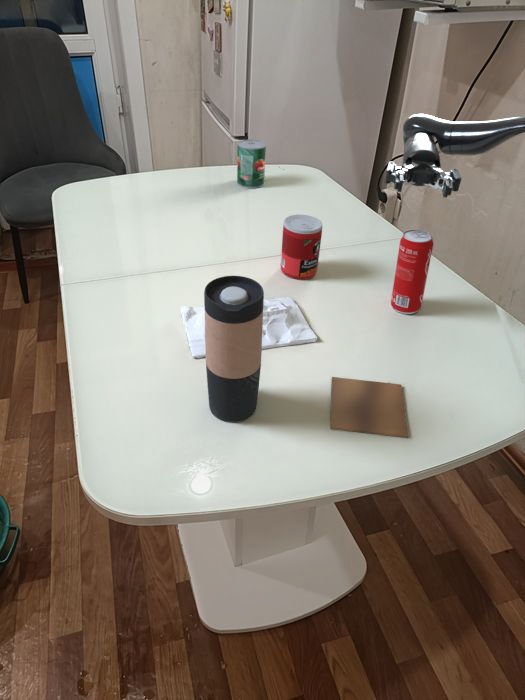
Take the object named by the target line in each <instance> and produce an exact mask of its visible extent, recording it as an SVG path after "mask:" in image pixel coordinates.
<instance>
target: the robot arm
mask: <svg viewBox="0 0 525 700" xmlns="http://www.w3.org/2000/svg"><path fill="white" fill-rule="evenodd" d="M523 134H525V115H519V116H518V115H517V116H513V117H512V116H511V117H507V118H506V117H505V118H500V119H494V120H493V119H492V120H482V121H451V120H446V119H442V118H438V117H435V116H433V115H429V114H426V113H425V114H424V113H418V114H412V115H411V116H409V117H408V118H407V119H406V120H404V122H403V125H402V140H403V154H402V162H401V163H402V165H401V166H399V165H397V164H395V163H396V162H395V161H388V163H387V168H386V171H385V172H386V173H385V178H384V183H385V184H387V185H388V184H389V185H390V184H391V183H393V189H394V190H396V193H402V189H403V186H409V185H411V186H414V187H425V186H429V187H430V188H432V189H434V190H441V193H442V198H446V199H447V198H448V197H450V196H451V195H452V192H459V189H460V186H461V183H462V178H463V177H462V176H461V174H460V171H459V169H457V168H456V167H455V168H451V170H450V171H445V170H444V169H443V168H442V164H441V156H440V153H441V154H443V155H445V156H457V157H458V156H459V157H461V156H462V157H474V156H480V155H484V154H487V153H488V152H491V151H493V150H494V149H496V148H498V147H499V146H501V145H503V144H504V143H506V142H508V141H509V140H510V141H511V140H512V139H514V138H516V137H518V136H520V135H523ZM435 140H436V141H437V144H436V141H435ZM437 145H438V147H437ZM438 148H439V150H438ZM439 151H440V153H439Z"/></svg>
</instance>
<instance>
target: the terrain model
mask: <svg viewBox="0 0 525 700" xmlns="http://www.w3.org/2000/svg"><path fill="white" fill-rule="evenodd" d="M179 309H180V315H181V317H182V323H183V326H184V329H185V334H186V338H187V341H188V345H189V346H188V347H189V349H190V353H191V355H192V358H193V359H202V358H206V350H205V306H199V307H193V306H191V305H183V306H182V305H181V306H180V308H179ZM317 339H318V335H316V333H315V332H314V331H313V330H312V329H311V327H310V326H309V324H308V321H307V320H306V318H305V316H304V315H303V312H302V311H301V309H300V307H299V304H297V303H296V302H295V301H294V299H293V298H292V297H291V296H289V297H288V296H287V297H286V296H285V297H277V298H271V299H270V298H269V299H264V303H263V328H262V350H267V349H273V348H280V347H288V346H289V347H290V346H294V345H302V344H310V343H315V342H317Z"/></svg>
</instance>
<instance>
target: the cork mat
mask: <svg viewBox="0 0 525 700" xmlns="http://www.w3.org/2000/svg"><path fill="white" fill-rule="evenodd" d="M330 383H331V384H330V385H331V388H330V389H331V390H330V397H331V398H330V430H334V431H335V430H336V431H343V432H354V433H360V434H361V433H362V434H371V435H379V436H386V437H387V436H388V437H396V438H404V439H409V437H410V435H409V427H408V421H407V420H408V419H407V414H406V408H405V407H406V406H405V399H404V392H403V385H402V383H392V382H384V381H383V382H382V381H375V380H374V381H373V380H365V379H357V378H356V379H355V378H346V377H339V376H338V377H337V376H331V382H330Z"/></svg>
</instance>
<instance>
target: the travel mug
mask: <svg viewBox="0 0 525 700" xmlns="http://www.w3.org/2000/svg"><path fill="white" fill-rule="evenodd" d="M264 297H265V291H264V288H263V286H262V285H261V284H260V283H259V282H258V281H256V280H255V279H253V278H251V277H247V276H243V275H225V276H224V275H223V276H219V277H217V278H214V279H212V280H211V281H209V282H208V283H207V284H206V285H205V287H204V293H203V303H204V306H203V307H205V350H206V357H205V369H206V370H205V371H206V382H207V397H208V405H209V406H208V407H209V410H210V412H211V414H212V415H213V416H214V418H217V419H218V420H220V421H223V422H226V423H240V422H244V421H246V420H248V419H249V418H251V417H252V416H253V415H254V414H255V412H256V410H257V408H258V401H259V389H260V380H261V379H260V378H261V368H262V352H263V351H262V350H263V349H262V328H263V303H264V300H265V298H264Z"/></svg>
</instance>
